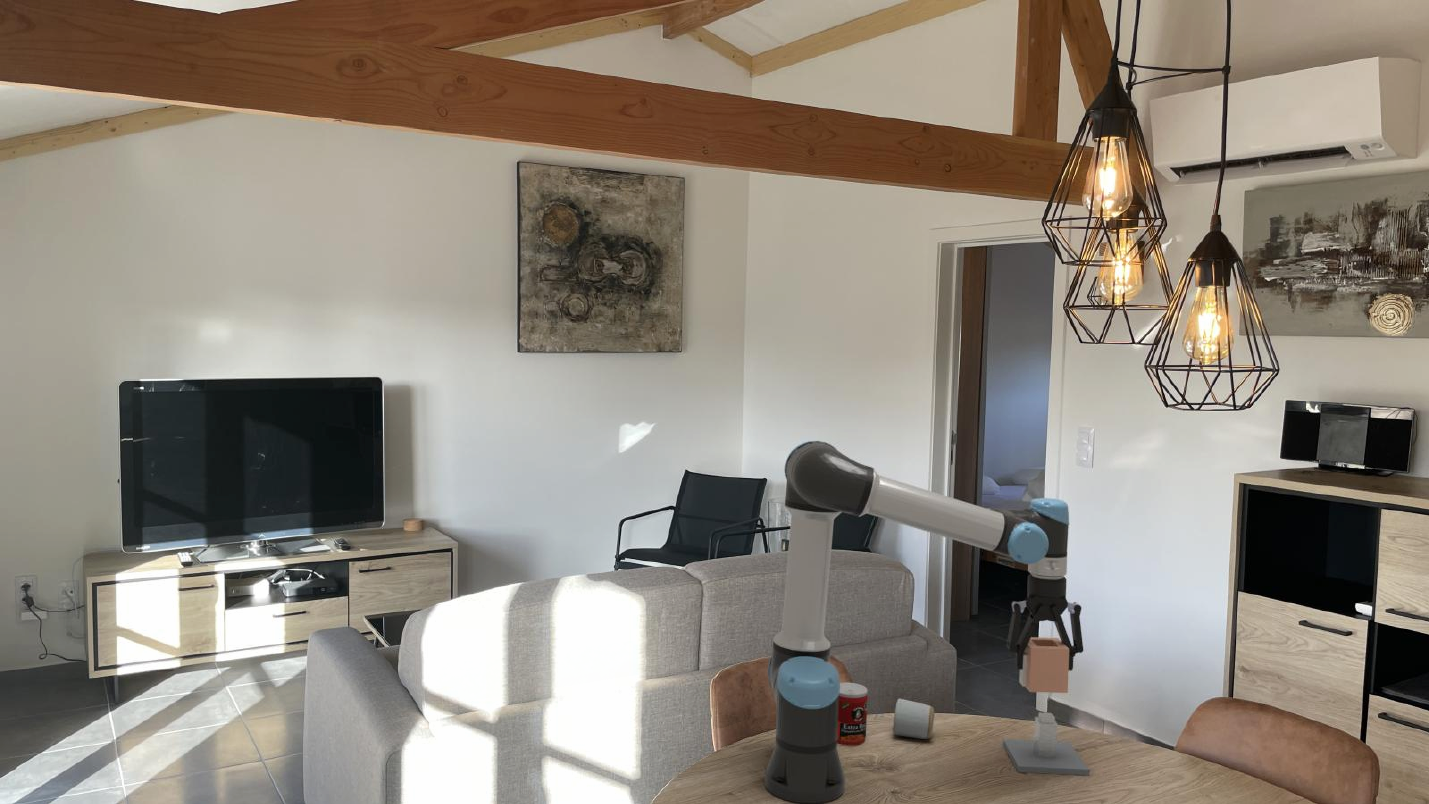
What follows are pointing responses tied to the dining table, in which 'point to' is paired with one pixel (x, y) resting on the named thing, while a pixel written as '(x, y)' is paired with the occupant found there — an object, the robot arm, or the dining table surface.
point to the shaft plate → (1045, 758)
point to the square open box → (1047, 665)
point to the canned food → (852, 714)
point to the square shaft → (1045, 735)
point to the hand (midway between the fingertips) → (1043, 684)
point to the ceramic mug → (913, 719)
